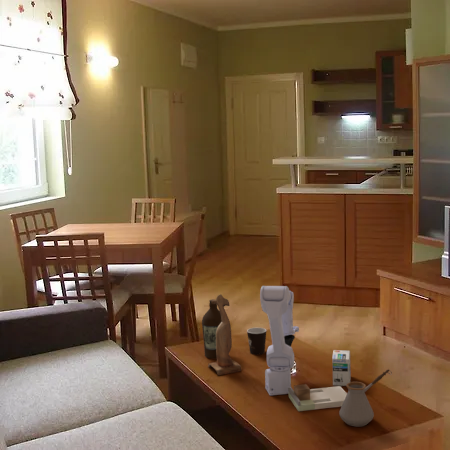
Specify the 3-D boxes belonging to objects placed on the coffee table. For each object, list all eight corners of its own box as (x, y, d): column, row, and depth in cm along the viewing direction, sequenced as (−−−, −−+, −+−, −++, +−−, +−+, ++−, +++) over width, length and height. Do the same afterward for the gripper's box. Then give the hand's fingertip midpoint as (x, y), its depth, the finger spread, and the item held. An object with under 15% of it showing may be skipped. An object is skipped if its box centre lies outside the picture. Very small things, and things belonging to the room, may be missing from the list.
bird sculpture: (243, 371, 278) (242, 295, 274) (217, 376, 273) (216, 298, 269) (231, 363, 288) (229, 290, 284) (206, 368, 283) (204, 293, 279)
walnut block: (297, 401, 241) (297, 390, 240) (294, 396, 245) (293, 385, 245) (310, 399, 242) (309, 388, 241) (306, 394, 246) (306, 384, 245)
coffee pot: (355, 432, 219) (354, 388, 217) (332, 419, 229) (331, 377, 227) (402, 415, 230) (402, 373, 228) (378, 404, 240) (378, 364, 238)
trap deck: (298, 411, 237) (298, 401, 236) (288, 396, 250) (288, 387, 249) (352, 405, 240) (352, 395, 240) (340, 391, 253) (340, 382, 252)
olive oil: (207, 350, 304) (205, 296, 301) (230, 351, 301) (227, 297, 298) (200, 358, 294) (197, 303, 290) (223, 360, 291) (221, 303, 288)
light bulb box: (350, 386, 257) (349, 359, 255) (332, 385, 258) (331, 358, 257) (350, 376, 267) (350, 350, 266) (333, 375, 269) (333, 349, 267)
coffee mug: (267, 355, 295) (266, 333, 294) (247, 355, 295) (247, 333, 294) (266, 346, 307) (265, 325, 305) (247, 347, 307) (246, 325, 305)
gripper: (282, 326, 259) (283, 360, 261) (304, 317, 270) (305, 350, 272) (267, 323, 264) (268, 356, 266) (290, 314, 274) (291, 346, 276)
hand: (286, 353), depth 269 cm, fingers closed
